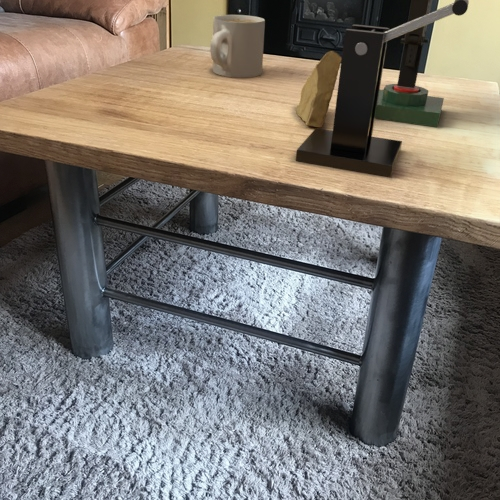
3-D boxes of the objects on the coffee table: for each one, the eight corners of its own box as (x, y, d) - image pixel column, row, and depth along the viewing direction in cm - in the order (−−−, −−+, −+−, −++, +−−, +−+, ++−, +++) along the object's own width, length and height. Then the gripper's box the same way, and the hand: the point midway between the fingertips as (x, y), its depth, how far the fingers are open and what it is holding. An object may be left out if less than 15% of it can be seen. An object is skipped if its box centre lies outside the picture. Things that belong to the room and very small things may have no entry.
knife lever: (471, 10, 64) (465, -11, 63) (470, 15, 60) (464, -7, 59) (361, 55, 70) (355, 36, 69) (354, 62, 66) (347, 43, 65)
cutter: (400, 151, 76) (423, 28, 68) (390, 177, 68) (415, 40, 60) (314, 137, 80) (327, 18, 72) (295, 160, 71) (307, 29, 63)
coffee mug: (237, 64, 119) (239, 13, 114) (272, 73, 113) (275, 20, 108) (189, 72, 110) (189, 18, 105) (224, 82, 105) (225, 25, 100)
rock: (338, 119, 80) (364, 95, 87) (307, 66, 78) (336, 46, 85) (284, 148, 87) (312, 124, 94) (254, 100, 86) (285, 79, 92)
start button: (418, 97, 92) (420, 86, 91) (415, 103, 89) (418, 92, 88) (393, 93, 93) (395, 83, 93) (390, 99, 90) (392, 88, 89)
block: (441, 110, 95) (446, 87, 93) (437, 127, 87) (442, 101, 85) (370, 101, 98) (374, 78, 96) (360, 116, 90) (364, 91, 88)
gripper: (415, -85, 85) (388, 74, 97) (405, -88, 74) (376, 91, 86) (467, -82, 83) (433, 80, 95) (465, -85, 72) (426, 98, 84)
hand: (406, 85), depth 90 cm, fingers closed
